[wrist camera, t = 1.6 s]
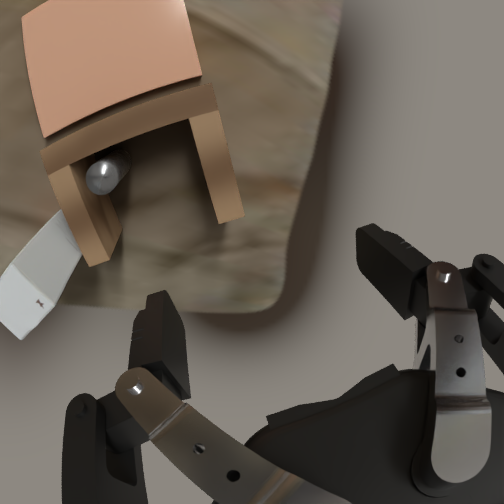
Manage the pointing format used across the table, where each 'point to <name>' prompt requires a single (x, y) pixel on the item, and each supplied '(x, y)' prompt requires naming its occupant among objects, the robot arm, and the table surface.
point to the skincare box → (38, 276)
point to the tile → (103, 54)
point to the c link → (122, 128)
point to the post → (108, 172)
